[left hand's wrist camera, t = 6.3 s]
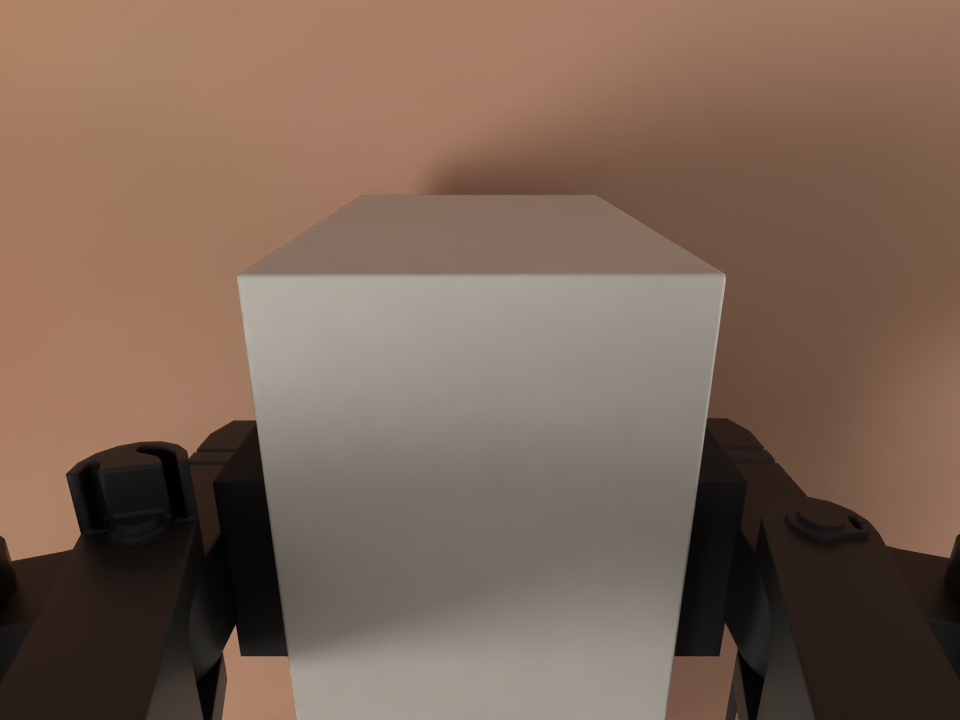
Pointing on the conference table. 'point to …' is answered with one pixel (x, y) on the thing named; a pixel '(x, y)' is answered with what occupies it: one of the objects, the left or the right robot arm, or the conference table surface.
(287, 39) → the conference table surface
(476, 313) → the bar
